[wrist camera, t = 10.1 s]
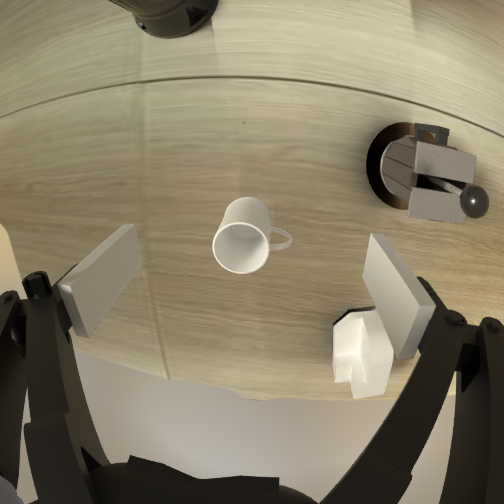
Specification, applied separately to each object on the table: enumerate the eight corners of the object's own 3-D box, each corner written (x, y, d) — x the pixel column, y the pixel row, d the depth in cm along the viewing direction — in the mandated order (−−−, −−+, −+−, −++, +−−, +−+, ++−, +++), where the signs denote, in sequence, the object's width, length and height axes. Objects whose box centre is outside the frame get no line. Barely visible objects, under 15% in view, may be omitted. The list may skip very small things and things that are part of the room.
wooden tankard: (382, 117, 41) (417, 119, 29) (438, 129, 40) (481, 138, 28) (374, 194, 47) (404, 221, 35) (429, 201, 46) (466, 227, 35)
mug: (294, 205, 50) (300, 231, 39) (284, 249, 54) (286, 284, 43) (227, 192, 50) (214, 215, 39) (221, 237, 54) (207, 269, 43)
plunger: (395, 145, 41) (467, 170, 23) (430, 151, 41) (508, 181, 22) (390, 186, 44) (454, 234, 26) (425, 190, 44) (495, 238, 25)
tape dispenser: (372, 355, 65) (383, 393, 53) (331, 361, 66) (338, 401, 55) (379, 304, 58) (396, 344, 47) (333, 311, 59) (342, 353, 48)
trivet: (369, 115, 42) (370, 115, 41) (445, 131, 41) (447, 132, 40) (361, 204, 49) (361, 205, 48) (434, 212, 48) (435, 213, 47)
